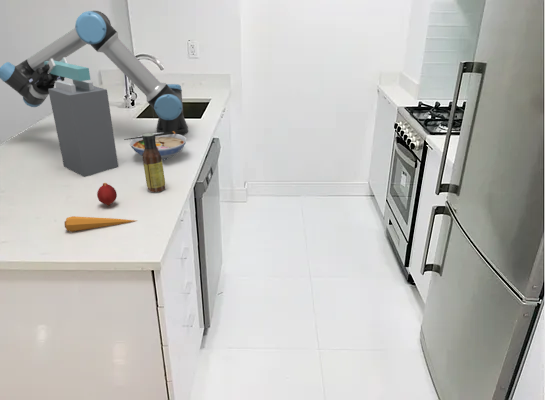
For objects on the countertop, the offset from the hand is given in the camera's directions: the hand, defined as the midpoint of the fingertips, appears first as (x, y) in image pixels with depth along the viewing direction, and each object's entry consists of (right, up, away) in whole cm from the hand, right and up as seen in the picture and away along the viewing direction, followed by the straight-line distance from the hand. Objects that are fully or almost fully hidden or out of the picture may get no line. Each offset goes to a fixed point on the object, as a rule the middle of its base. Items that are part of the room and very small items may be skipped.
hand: (59, 61), depth 161 cm
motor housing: (+7, -38, +10) cm, 40 cm away
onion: (+26, -53, -20) cm, 62 cm away
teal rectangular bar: (+3, -5, -1) cm, 6 cm away
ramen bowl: (+32, -33, +21) cm, 51 cm away
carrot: (+29, -59, -33) cm, 73 cm away
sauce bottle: (+38, -47, -8) cm, 61 cm away
